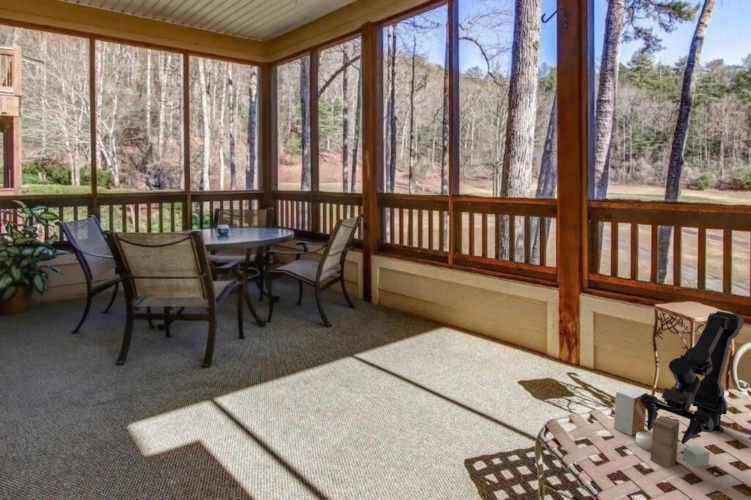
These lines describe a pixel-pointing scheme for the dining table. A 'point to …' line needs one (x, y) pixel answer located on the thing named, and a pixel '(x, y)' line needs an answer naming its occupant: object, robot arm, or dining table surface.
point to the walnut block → (664, 441)
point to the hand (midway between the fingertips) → (665, 436)
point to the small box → (629, 411)
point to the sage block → (696, 456)
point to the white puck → (644, 440)
